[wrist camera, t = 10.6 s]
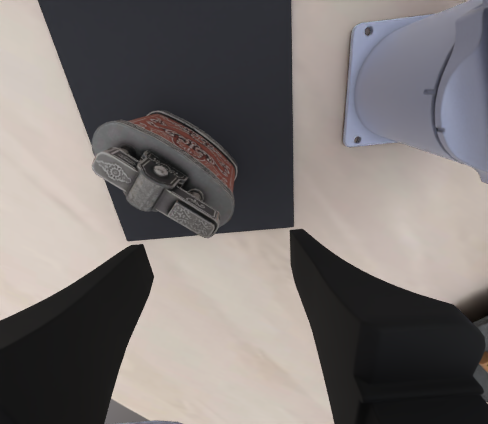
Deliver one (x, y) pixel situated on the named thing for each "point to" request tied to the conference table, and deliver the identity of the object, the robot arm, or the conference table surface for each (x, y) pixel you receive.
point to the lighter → (168, 169)
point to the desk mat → (189, 89)
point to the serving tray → (483, 359)
